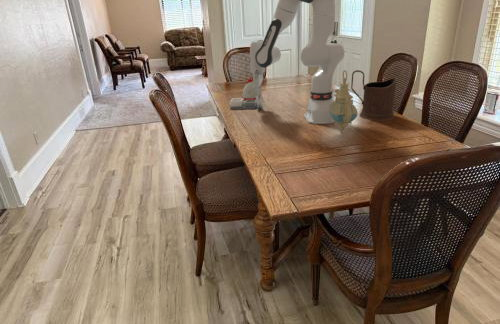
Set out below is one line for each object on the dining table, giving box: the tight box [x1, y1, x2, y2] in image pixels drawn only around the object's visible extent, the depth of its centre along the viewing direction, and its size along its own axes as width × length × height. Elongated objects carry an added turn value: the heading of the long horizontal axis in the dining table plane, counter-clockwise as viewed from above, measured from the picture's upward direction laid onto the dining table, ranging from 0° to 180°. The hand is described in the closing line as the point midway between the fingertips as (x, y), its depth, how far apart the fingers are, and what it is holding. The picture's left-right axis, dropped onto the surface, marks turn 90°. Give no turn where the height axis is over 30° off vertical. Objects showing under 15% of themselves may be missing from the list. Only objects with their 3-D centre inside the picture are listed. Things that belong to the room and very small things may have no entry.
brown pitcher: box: [350, 69, 397, 122], centre depth 187 cm, size 18×24×25 cm
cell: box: [255, 95, 264, 111], centre depth 214 cm, size 4×4×9 cm
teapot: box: [329, 69, 359, 134], centre depth 163 cm, size 24×12×30 cm, turn 2°
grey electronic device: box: [229, 97, 256, 110], centre depth 222 cm, size 12×16×5 cm
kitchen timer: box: [241, 76, 263, 101], centre depth 240 cm, size 14×14×15 cm
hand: (258, 91), depth 211 cm, fingers open, 8 cm apart
